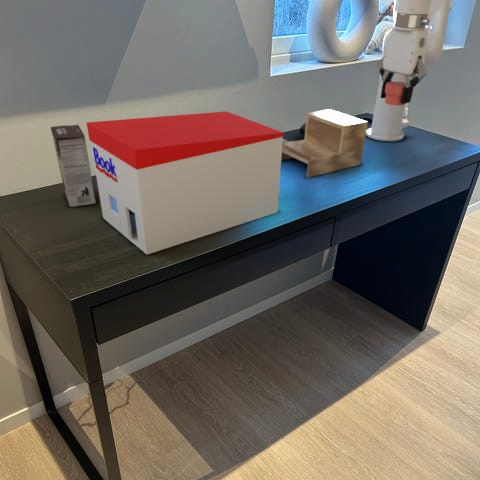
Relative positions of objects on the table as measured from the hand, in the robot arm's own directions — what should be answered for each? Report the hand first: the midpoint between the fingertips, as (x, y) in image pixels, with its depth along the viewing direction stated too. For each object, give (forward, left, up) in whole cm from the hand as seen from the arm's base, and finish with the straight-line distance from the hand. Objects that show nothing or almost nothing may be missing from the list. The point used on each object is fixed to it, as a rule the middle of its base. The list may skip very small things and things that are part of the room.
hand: (395, 99), depth 130 cm
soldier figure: (+16, -28, -18) cm, 37 cm away
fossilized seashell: (0, -32, -18) cm, 36 cm away
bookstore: (+64, 0, -18) cm, 66 cm away
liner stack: (0, 0, -1) cm, 1 cm away
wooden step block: (+15, -12, -18) cm, 26 cm away
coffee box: (+82, -23, -18) cm, 87 cm away
